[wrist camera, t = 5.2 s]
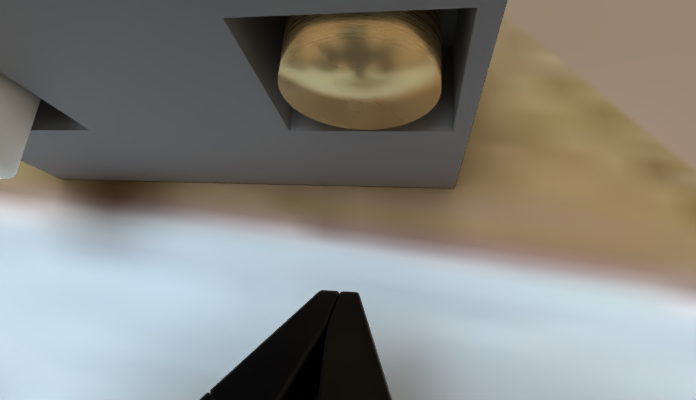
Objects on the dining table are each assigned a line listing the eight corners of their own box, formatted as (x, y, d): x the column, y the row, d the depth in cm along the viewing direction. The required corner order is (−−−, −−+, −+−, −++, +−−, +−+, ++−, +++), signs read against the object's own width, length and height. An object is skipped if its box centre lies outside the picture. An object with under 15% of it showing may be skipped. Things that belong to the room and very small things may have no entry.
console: (454, 188, 17) (529, -80, 6) (61, 179, 20) (-367, -16, 9) (454, 61, 19) (513, -322, 8) (93, 69, 22) (-230, -205, 11)
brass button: (436, 130, 12) (447, 35, 8) (300, 129, 13) (253, 42, 9) (438, 41, 13) (448, -81, 9) (310, 45, 14) (272, -67, 10)
